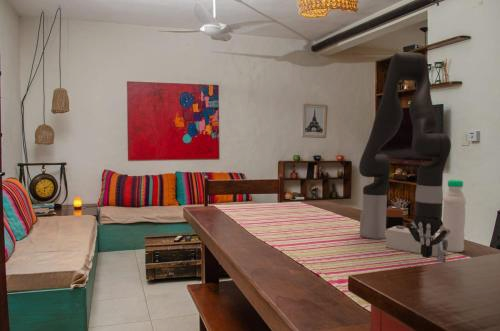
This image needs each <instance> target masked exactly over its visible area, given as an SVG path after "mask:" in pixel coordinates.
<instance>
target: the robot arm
mask: <svg viewBox="0 0 500 331" xmlns="http://www.w3.org/2000/svg"><path fill="white" fill-rule="evenodd" d="M386 74H387V75H386V78H385V79H386V80H385V84H384V88H383V92H382V95H381V99H380V103H379V104H378V108H377V111H376V114H375V117H374V121H373V124H372V128H371V132H370V134H369V135H370V136H369V138H368V141H367V142H366V145H365V147H364V150H363V153H362V154H361V156H360V161H359V165H358V168H359V169H358V171H359V174H360V175H361V176H362V177H364V178H375V180H374V181H373V182H371V183H369V184H367V185H365V186H364V187H363V188H362V211H361V212H359V215H360V216H359V217H360V218H359V219H360V220H359V237H363V238H366V239H373V240H379V239H381V240H382V239H386V229H387V228H386V209H387V208H388V207H387V203H388V189H389V182H390V171H391V168H390V167H391V163H390V158H389V156H388V155H387V154H385V153H379V154H378V152H379V151H380V150H381V149H382V147H384V146H385V145H386V144H387V143H388V142H389V141H390V140H392V138H393V137H395V135H396V134H397V133H398V131H399V130H400V127H401V124H402V121H403V118H404V110H403V107H402V105H401V104H402V103H401V102H400V99H399V95H398V87H399V83H400V81H408V82H413V81H414V83H415V85H416V88H415V89H416V90H415V92H414V94H413V96H412V98H411V100H410V102H409V106H408V108H409V110H408V111H409V117H410V120H411V124H412V141H411V150H412V152H413V153H414V155H415V156H417V157H420V158H432V160H431V162H429V163H428V164H424V165H423V164H422V165H420V166H418V168H417V172H416V187H415V198H414V199H415V200H414V218H413V221H411V222H410V223H406V228H408V229H409V231H410V233H411V234H412V236H413V238H414V239H415V241H418V242H419V243H421V254H420V255H421V256H422V258H427V259H428V258H430V257H432V256H431V255H432V246H433V245H436V244H439V243H440V242H441V241H442V240H443V239H444V238H445V237H446V236H447V235H448V234H449V233H450V230H449V229H446V228H445V227H444V226H443V205H444V191H443V183H444V182H443V180H444V178H443V177H444V176H443V175H444V170H445V167H446V164H447V161H448V158H449V155H450V152H451V147H452V143H451V140H450V138H449V136H448V135H447V134H445V133H430V132H432V131H434V130H435V129H436V128H437V127H438V125H439V124H438V118H437V115H436V111H435V109H434V105H433V100H432V96H431V83H430V74H429V64H428V61H427V58H426V56H425V55H424V54H423V53H419V52H412V51H410V52H409V51H397V52H395V53H394V54H393V55H392V57H391V60H390V62H389V65H388V70H387V73H386ZM418 230H419V232H418ZM436 233H440V234H439V235H438V236H437V237H436V238H435V234H436ZM434 238H435V239H434Z"/></svg>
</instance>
